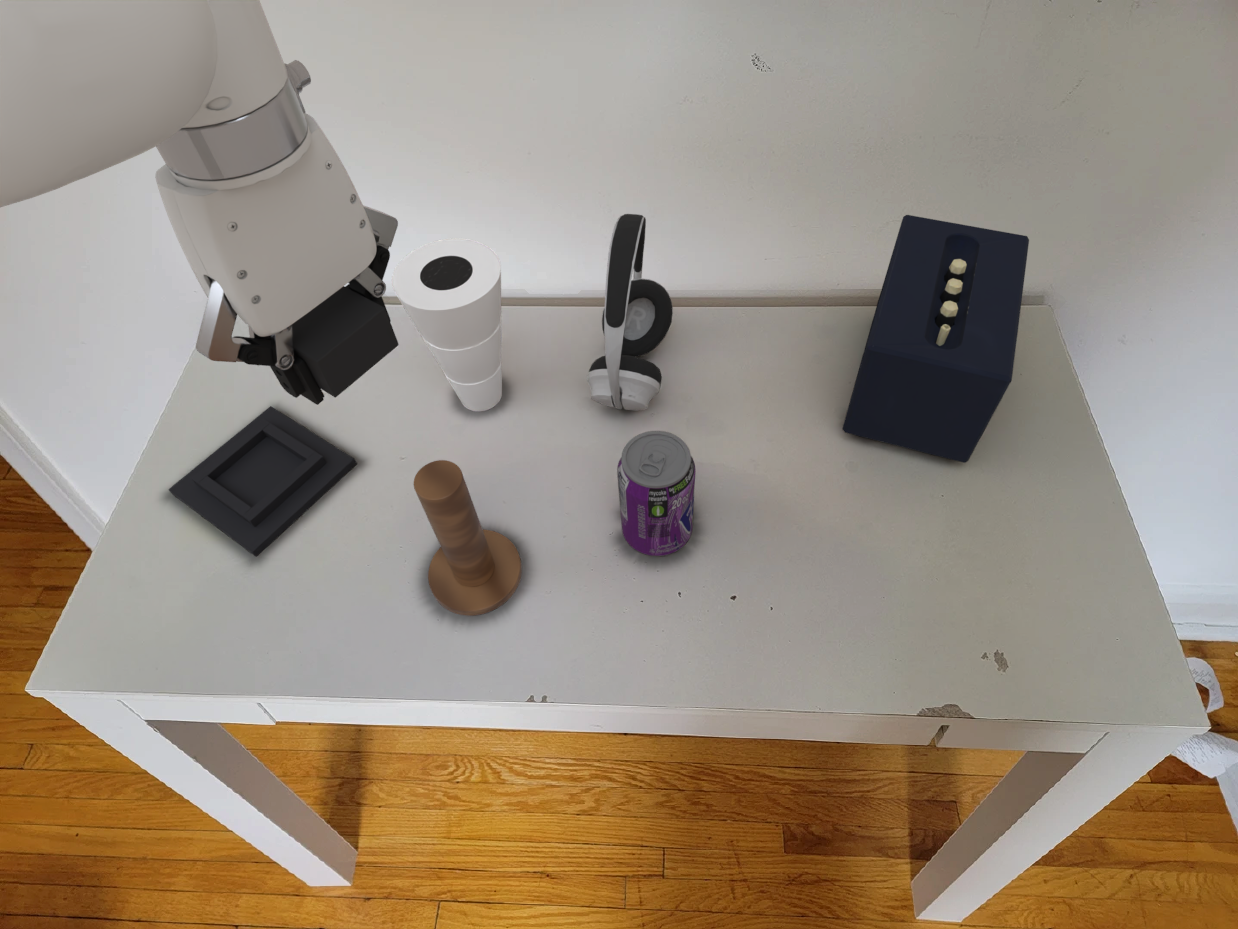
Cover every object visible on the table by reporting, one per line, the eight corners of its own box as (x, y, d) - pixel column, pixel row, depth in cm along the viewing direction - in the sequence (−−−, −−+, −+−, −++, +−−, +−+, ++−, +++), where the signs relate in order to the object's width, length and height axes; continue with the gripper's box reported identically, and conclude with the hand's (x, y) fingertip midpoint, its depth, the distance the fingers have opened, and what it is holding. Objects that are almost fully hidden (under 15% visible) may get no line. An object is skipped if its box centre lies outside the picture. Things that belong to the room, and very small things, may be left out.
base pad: (256, 557, 77) (246, 546, 76) (172, 494, 83) (161, 482, 81) (357, 463, 84) (350, 451, 82) (274, 411, 89) (266, 398, 87)
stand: (480, 633, 71) (440, 545, 59) (411, 585, 75) (359, 492, 62) (540, 562, 76) (515, 466, 63) (472, 519, 79) (435, 420, 66)
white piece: (416, 407, 88) (368, 285, 74) (475, 350, 94) (441, 226, 79) (487, 445, 85) (451, 324, 70) (545, 384, 90) (522, 259, 75)
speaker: (875, 311, 94) (906, 205, 82) (984, 334, 91) (1033, 228, 79) (838, 441, 83) (868, 340, 71) (962, 473, 80) (1016, 374, 67)
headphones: (608, 317, 96) (598, 173, 80) (675, 321, 95) (678, 176, 79) (582, 436, 85) (564, 297, 69) (658, 442, 84) (657, 303, 68)
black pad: (335, 398, 51) (316, 361, 48) (277, 362, 53) (256, 325, 51) (399, 345, 54) (385, 307, 51) (342, 313, 56) (325, 275, 53)
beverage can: (675, 570, 74) (677, 501, 65) (610, 544, 76) (602, 474, 67) (702, 513, 78) (708, 440, 68) (639, 490, 80) (636, 416, 70)
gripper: (308, 39, 46) (393, 278, 60) (38, 184, 38) (211, 420, 52) (397, 71, 43) (464, 314, 57) (125, 235, 35) (282, 469, 49)
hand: (343, 362), depth 54 cm, fingers closed on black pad, 6 cm apart
